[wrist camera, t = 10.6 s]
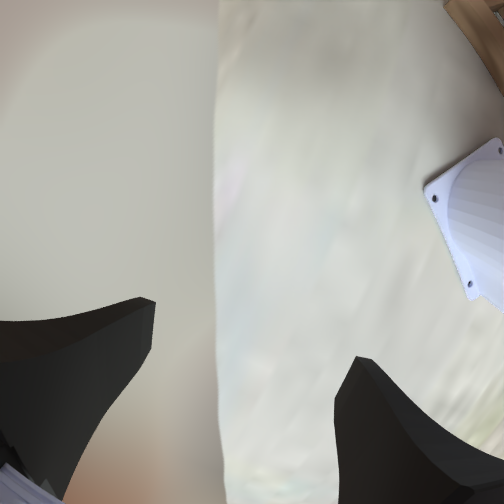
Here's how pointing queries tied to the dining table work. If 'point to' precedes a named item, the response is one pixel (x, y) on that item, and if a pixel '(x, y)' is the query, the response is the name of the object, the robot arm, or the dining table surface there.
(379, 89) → the dining table surface
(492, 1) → the pin block
